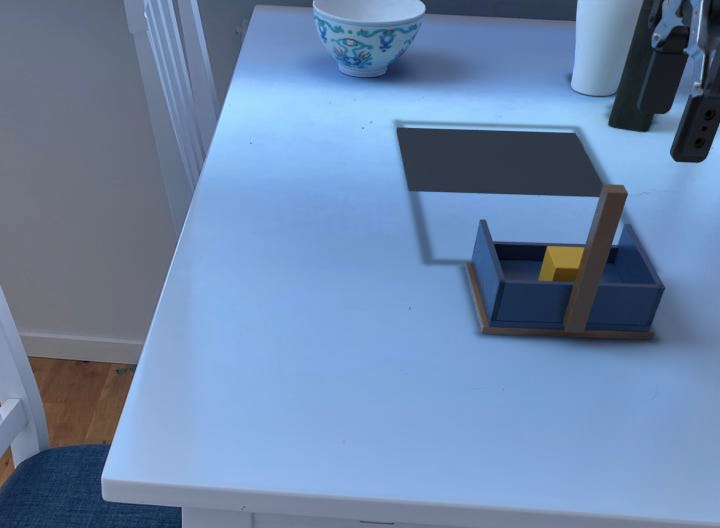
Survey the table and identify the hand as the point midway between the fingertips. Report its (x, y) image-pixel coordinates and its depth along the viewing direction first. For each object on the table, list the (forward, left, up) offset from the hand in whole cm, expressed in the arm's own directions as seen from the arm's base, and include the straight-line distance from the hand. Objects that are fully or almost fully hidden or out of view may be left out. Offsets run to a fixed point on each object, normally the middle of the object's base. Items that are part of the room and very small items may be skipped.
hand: (668, 135), depth 63 cm
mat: (0, -39, -20) cm, 44 cm away
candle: (-19, -62, -21) cm, 68 cm away
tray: (0, -13, -19) cm, 23 cm away
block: (0, -12, -18) cm, 22 cm away
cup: (-17, -74, -21) cm, 79 cm away
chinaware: (+14, -79, -21) cm, 83 cm away
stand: (0, -14, -20) cm, 25 cm away
